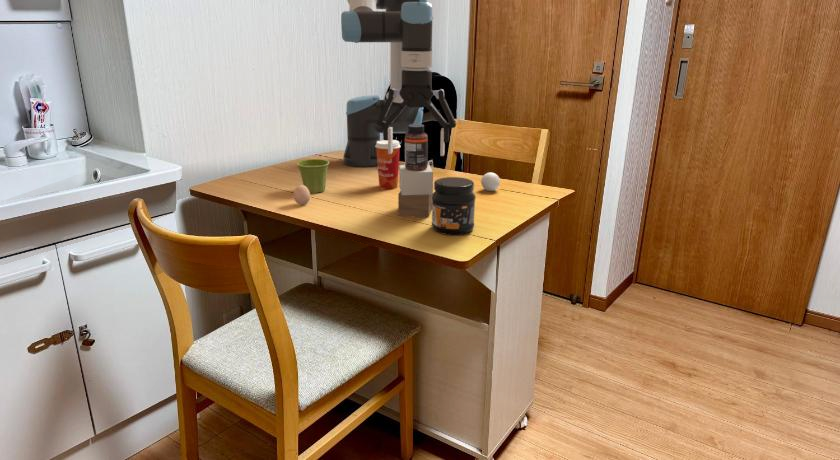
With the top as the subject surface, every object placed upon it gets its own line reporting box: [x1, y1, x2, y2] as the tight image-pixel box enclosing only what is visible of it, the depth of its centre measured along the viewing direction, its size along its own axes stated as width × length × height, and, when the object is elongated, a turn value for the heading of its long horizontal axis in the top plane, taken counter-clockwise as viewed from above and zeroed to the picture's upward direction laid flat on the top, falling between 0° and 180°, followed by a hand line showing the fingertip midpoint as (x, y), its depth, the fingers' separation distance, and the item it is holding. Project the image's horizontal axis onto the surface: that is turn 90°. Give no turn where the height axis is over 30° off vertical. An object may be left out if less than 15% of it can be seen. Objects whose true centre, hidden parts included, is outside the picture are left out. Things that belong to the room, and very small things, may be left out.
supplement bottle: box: [404, 123, 429, 171], centre depth 149 cm, size 6×6×11 cm
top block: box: [398, 164, 434, 195], centre depth 152 cm, size 8×8×6 cm
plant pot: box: [296, 158, 330, 194], centre depth 172 cm, size 9×9×9 cm
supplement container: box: [431, 176, 476, 236], centre depth 140 cm, size 10×10×12 cm
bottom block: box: [397, 190, 432, 218], centre depth 154 cm, size 8×8×6 cm
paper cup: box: [375, 139, 401, 190], centre depth 175 cm, size 8×8×14 cm
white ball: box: [480, 171, 501, 192], centre depth 173 cm, size 8×6×6 cm
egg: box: [293, 184, 311, 206], centre depth 159 cm, size 4×4×6 cm
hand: (416, 154), depth 149 cm, fingers open, 13 cm apart
